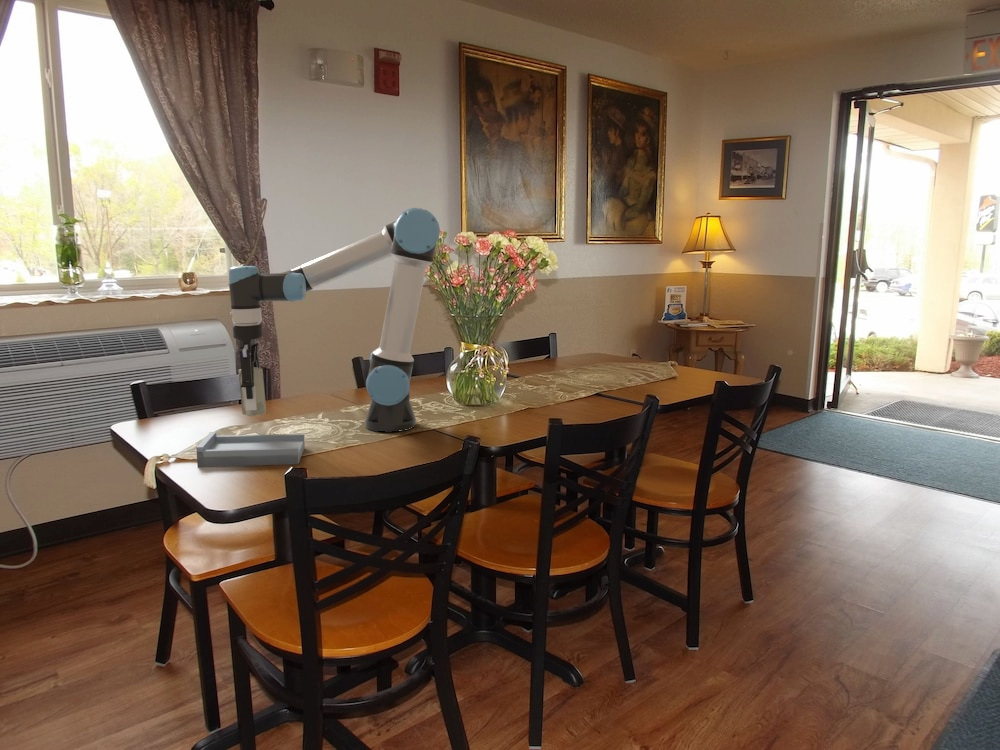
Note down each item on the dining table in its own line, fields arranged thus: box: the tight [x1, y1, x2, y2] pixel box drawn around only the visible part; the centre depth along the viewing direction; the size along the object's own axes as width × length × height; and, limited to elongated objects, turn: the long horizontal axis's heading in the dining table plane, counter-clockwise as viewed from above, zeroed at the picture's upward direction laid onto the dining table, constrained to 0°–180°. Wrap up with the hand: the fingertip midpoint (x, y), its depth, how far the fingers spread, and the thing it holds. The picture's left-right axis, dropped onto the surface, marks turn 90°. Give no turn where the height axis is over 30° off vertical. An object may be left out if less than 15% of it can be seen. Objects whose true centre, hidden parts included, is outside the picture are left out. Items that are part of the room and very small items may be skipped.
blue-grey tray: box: [195, 431, 306, 468], centre depth 184 cm, size 24×14×5 cm, turn 99°
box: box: [238, 367, 267, 417], centre depth 196 cm, size 5×4×13 cm
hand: (253, 406), depth 197 cm, fingers closed on box, 6 cm apart
